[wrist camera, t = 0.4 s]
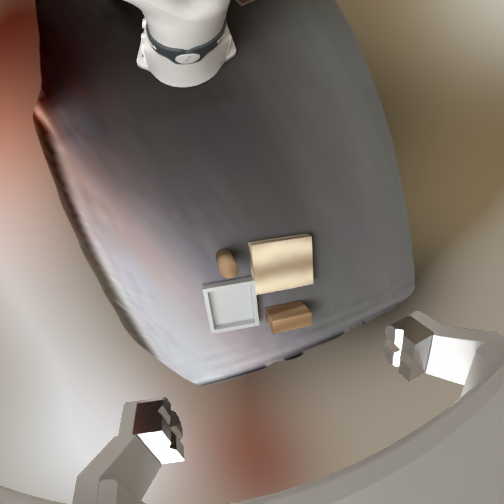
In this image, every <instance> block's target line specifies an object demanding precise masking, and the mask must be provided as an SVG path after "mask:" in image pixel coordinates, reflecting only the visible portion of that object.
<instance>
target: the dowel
mask: <svg viewBox="0 0 504 504" xmlns="http://www.w3.org/2000/svg"><path fill="white" fill-rule="evenodd" d="M216 259H217V262H218V266H219V269H220V272H221V274H222V276H223V277H225V278H233V277H235V276H236V275H237V273H238V266H237V264H236V262H235V260H234V258H233V256H232V254H231V252H230V251H229V250H228V249H221V250H219V251H218V252H217V254H216Z"/></svg>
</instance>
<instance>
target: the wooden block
mask: <svg viewBox="0 0 504 504" xmlns="http://www.w3.org/2000/svg"><path fill="white" fill-rule="evenodd" d="M265 313H266V321H267V322H268V324H269V326H270V328H271V330H272V332H273V334H276V333H281V332H285V331H289V330H294V329H298V328H302V327H306V326H310V325H311V312H310V311H309V309H308V308H307V307H306V306H305V305H304V304H303V302H302V301H301V300H300V301H295V302H290V303H285V304H280V305H276V306H271V307H266V308H265Z"/></svg>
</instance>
